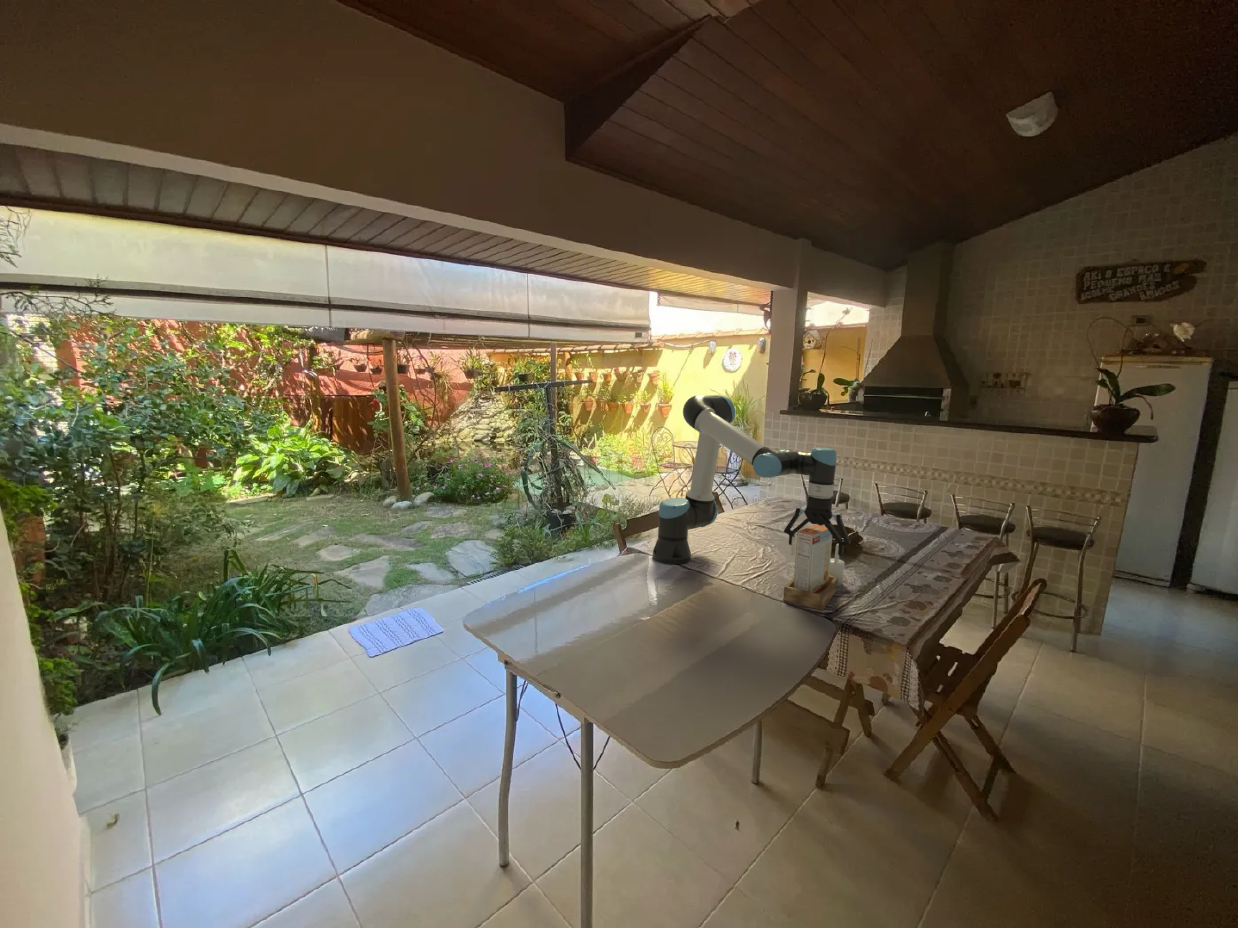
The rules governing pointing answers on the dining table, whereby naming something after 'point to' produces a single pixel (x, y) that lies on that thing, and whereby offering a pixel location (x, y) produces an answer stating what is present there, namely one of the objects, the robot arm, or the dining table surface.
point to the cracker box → (812, 558)
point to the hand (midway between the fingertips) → (814, 559)
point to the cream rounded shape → (837, 570)
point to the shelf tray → (811, 594)
